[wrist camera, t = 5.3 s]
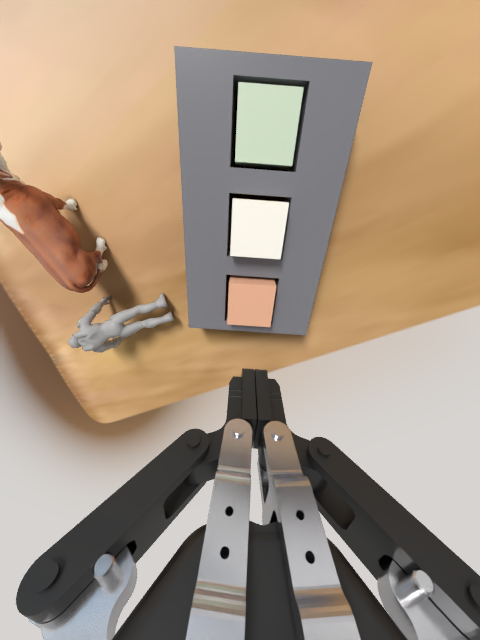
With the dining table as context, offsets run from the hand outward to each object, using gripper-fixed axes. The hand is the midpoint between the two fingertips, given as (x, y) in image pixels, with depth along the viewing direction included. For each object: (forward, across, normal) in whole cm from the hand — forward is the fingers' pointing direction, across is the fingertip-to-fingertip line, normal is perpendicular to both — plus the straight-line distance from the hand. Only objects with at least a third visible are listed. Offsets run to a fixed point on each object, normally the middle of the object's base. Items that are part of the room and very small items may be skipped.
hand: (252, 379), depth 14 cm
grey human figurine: (+17, +15, +5) cm, 23 cm away
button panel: (+16, 0, -7) cm, 18 cm away
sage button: (+15, 0, -15) cm, 21 cm away
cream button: (+14, 0, -7) cm, 16 cm away
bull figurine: (+17, +20, -6) cm, 27 cm away
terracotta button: (+14, 0, 0) cm, 14 cm away
